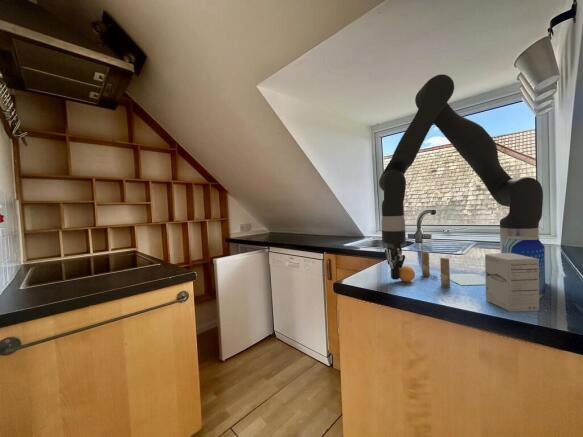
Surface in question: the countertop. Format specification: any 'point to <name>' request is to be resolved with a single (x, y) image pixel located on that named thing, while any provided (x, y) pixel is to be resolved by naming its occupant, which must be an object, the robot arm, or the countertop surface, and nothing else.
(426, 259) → the far post
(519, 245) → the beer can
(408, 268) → the ball
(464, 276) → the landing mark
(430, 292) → the countertop surface
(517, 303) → the supplement box
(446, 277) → the near post
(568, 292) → the countertop surface
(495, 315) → the countertop surface
